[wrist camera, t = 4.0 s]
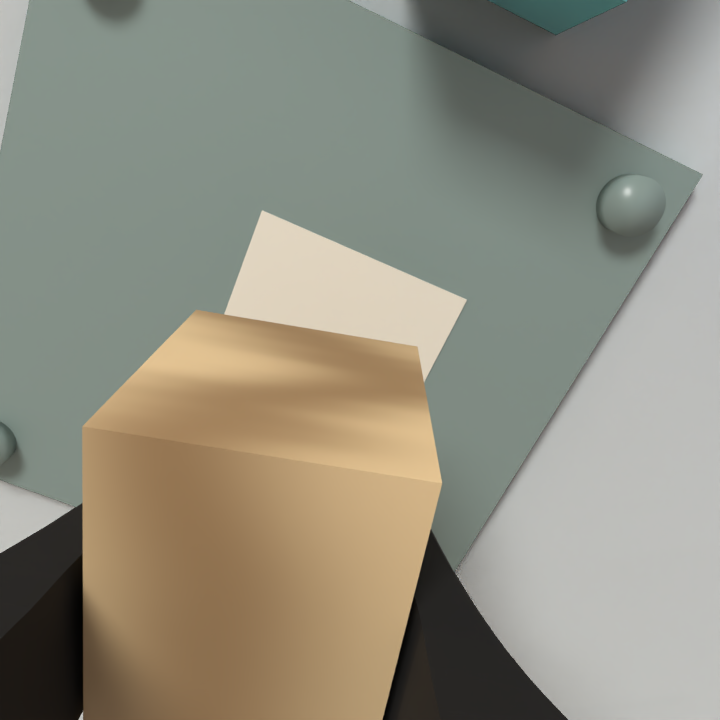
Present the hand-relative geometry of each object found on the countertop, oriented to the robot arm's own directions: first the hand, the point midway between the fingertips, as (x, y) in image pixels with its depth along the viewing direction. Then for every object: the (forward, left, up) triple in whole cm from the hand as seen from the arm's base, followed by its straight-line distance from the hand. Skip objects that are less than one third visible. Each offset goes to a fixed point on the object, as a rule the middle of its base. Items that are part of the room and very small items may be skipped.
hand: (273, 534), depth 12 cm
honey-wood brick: (0, 0, -2) cm, 2 cm away
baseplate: (+1, -1, -8) cm, 8 cm away
